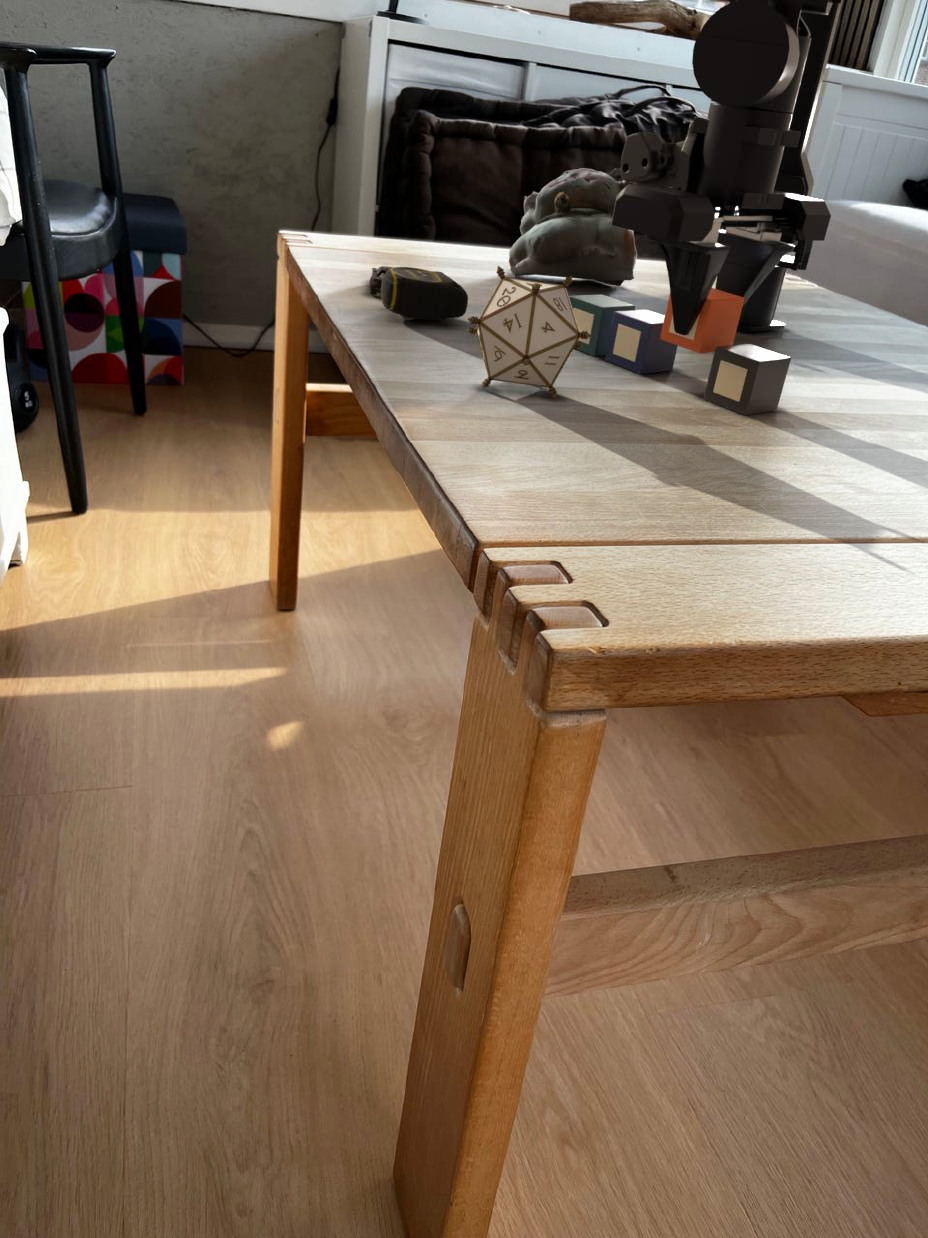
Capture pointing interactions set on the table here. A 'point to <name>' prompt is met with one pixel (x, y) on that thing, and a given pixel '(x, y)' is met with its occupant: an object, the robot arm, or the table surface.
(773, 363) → the block
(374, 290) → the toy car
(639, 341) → the block
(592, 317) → the block
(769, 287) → the robot arm
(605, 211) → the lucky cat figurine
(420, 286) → the tape measure
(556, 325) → the game die
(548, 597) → the table surface
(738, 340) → the table surface
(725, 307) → the loose block
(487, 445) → the table surface
